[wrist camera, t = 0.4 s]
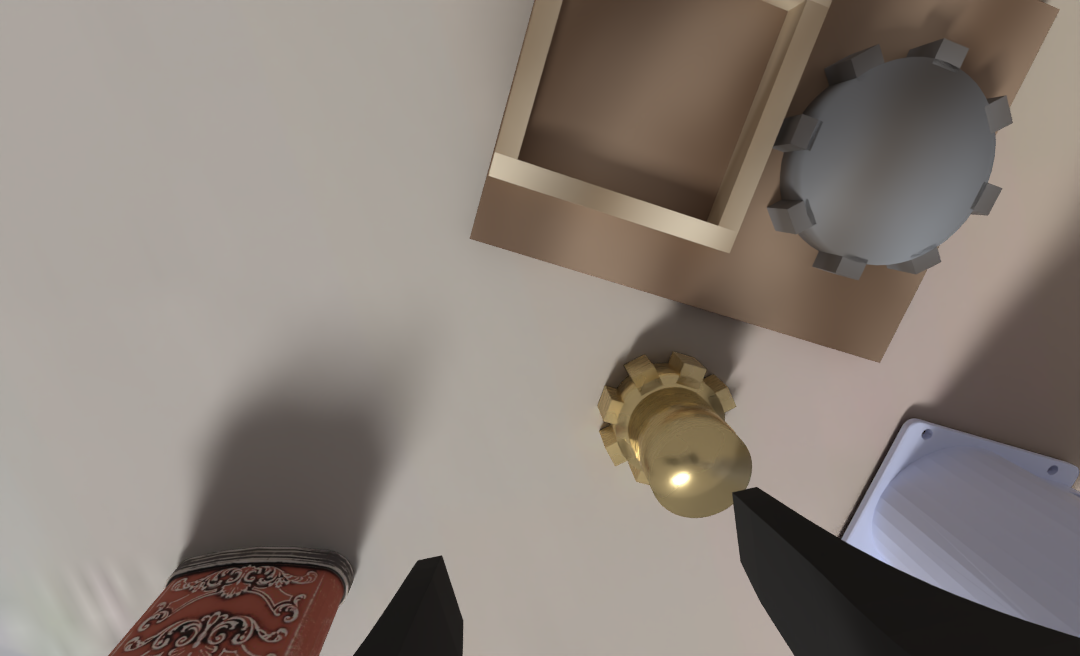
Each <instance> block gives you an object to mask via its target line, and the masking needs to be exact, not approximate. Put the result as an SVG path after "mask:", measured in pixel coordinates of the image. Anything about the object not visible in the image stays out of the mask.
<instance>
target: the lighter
mask: <svg viewBox="0 0 1080 656" xmlns="http://www.w3.org/2000/svg"><path fill="white" fill-rule="evenodd" d="M352 582H353V570H352V567H351V564H350V563H349V562H348V561H347V559H346V558H345V557H343V556H342V555H340V554H339V553H336V552H332V551H327V550H317V549H308V548H299V547H254V548H245V549H236V550H227V551H221V552H216V553H212V554H207V555H202V556H197V557H193V558H190V559H187V560H185V561H183V562H182V563H181V565H180V566H179V567H178V568H177V569H176V570H175V571H174V572H173V574H172V575H171V576H170V577H169V578H168V579H167V580H166V583H165V586H164V588H163V589H164V591H163V592H162V593H161V594H160V595H159V597H158V598H157V599H156V600H155V601H154V602H153V604H152V605H151V606H150V607H149V608H148V609H147V611H146V612H145V613H144V614H143V615H142V617H141V618H140V619H139V620H138V621H137V622H136V624H135V625H134V626H133V627H132V628H131V629H130V631H129V632H128V633H127V634H126V635H125V637H124V638H123V639H122V640H121V641H120V642H119V644H118V645H117V646H116V647H115V648H114V650H113V651H112V652H111V653H110V654H109V655H108V656H319V654H320V652H321V649H322V647H323V644H324V642H325V639H326V637H327V634H328V632H329V629H330V627H331V624H332V622H333V619H334V617H335V614H336V612H337V609H338V608H339V607H340V606H341V605H342V604H343V603H344V601H345V599H346V597H347V595H348V592H349V590H350V587H351V585H352Z"/></svg>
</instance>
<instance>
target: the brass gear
mask: <svg viewBox="0 0 1080 656" xmlns="http://www.w3.org/2000/svg"><path fill="white" fill-rule="evenodd" d="M624 367H625V369H626V370H627V372H628V374H629V376H628V377H627V378H626V379H625V380H624V381H623V382H622V383H621V384H620V385H619V387H618V388H617V389H615V388H612V387H608V386H605V387H604V390H603V392H602V395H601V398H600V400H599V403H598V409H599V411H600V414H601V416H602V419H603V421H604V422H608V423H610V426H608V427H606V428H604V429H602V430H600V431H599V432H600V435H601V438H602V440H603V443H604V446H605V448H606V450H607V452H608V454H609V456H610V457H611V459H612V461H613V463H614V465H615V466H617V465H619V464H621V463H623V462H625V461H628V462H629V463H628V464H629V466H630V468H631V471H632V473H633V475H634V478H635V480H636V482H639V483H643V484H647V485H650V486H651V489H652V491H653V493H654V495H655V497H656V498H657V500H658V501H659V503H660V504H661V505H662V506H663V507H665V508H666V509H667V510H669V511H670V512H672V513H674V514H676V515H679V516H683V517H688V518H702V517H708V516H711V515H715V514H717V513H719V512H721V511H723V510H725V509H727V508H728V507H730V506H731V505H732V504H733V497H732V492H736V491H741V490H745V489H746V488H747V486H748V483H749V481H750V477H751V473H752V461H751V456H750V453H749V451H748V449H747V447H746V445H745V444H744V443H743V441H742V440H741V439H740V438H739V437H738V436H737V435H736V433H735V432H734V431H733V429H732V428H731V427H730V426H729V425H728V424H727V423H726V422H725V415H724V413H725V412H727V411H729V410H731V409H733V408H735V407H736V405H735V402H734V400H733V398H732V396H731V394H730V391H729V389H728V387H727V386H726V385H725V384H724V383H723V382H722V381H720V380H719V379H718V378H717V377H716V376H715V375H714V374H712V375H710V376H708V377H706V378H704V375H705V373H706V371H707V369H706V368H705V367H704V366H702V365H701V364H700V363H699V362H698V361H697V360H696V359H695V358H694V357H691V356H687V355H684V354H680V353H677V352H672V354H671V357H670V359H669V362H668V363H658V364H652V363H651V362H650V360H649V359H648V358H647V357H646V355H645V354H644V355H642V356H640V357H638V358H636V359H634V360H632V361H630V362H628V363H627V364H625V365H624ZM703 378H704V379H703Z"/></svg>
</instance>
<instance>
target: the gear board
mask: <svg viewBox="0 0 1080 656" xmlns="http://www.w3.org/2000/svg"><path fill="white" fill-rule="evenodd" d="M1059 10H1060V9H1057V8H1055V7H1053V6H1050V5H1048V4H1046V3H1044V2H1041V1H1039V0H535V1H534V4H533V8H532V12H531V15H530V19H529V23H528V27H527V30H526V34H525V38H524V41H523V45H522V49H521V52H520V56H519V60H518V63H517V67H516V71H515V74H514V78H513V82H512V85H511V89H510V93H509V96H508V100H507V104H506V107H505V111H504V115H503V118H502V122H501V126H500V129H499V133H498V137H497V140H496V144H495V148H494V151H493V155H492V159H491V162H490V166H489V170H488V173H487V177H486V181H485V184H484V188H483V192H482V195H481V199H480V203H479V206H478V210H477V214H476V217H475V221H474V225H473V229H472V232H471V236H470V239H473V240H476V241H479V242H483V243H486V244H489V245H493V246H496V247H499V248H502V249H506V250H509V251H512V252H516V253H519V254H522V255H526V256H529V257H532V258H535V259H539V260H542V261H545V262H549V263H552V264H555V265H558V266H562V267H565V268H568V269H572V270H575V271H578V272H582V273H585V274H588V275H591V276H595V277H598V278H601V279H605V280H608V281H611V282H615V283H618V284H621V285H624V286H628V287H631V288H634V289H638V290H641V291H644V292H648V293H651V294H654V295H657V296H661V297H664V298H667V299H671V300H674V301H677V302H681V303H684V304H687V305H690V306H694V307H697V308H700V309H704V310H707V311H710V312H714V313H717V314H720V315H723V316H727V317H730V318H733V319H737V320H740V321H743V322H746V323H750V324H753V325H756V326H760V327H763V328H766V329H770V330H773V331H776V332H779V333H783V334H786V335H789V336H793V337H796V338H799V339H803V340H806V341H809V342H812V343H816V344H819V345H822V346H826V347H829V348H832V349H836V350H839V351H842V352H845V353H849V354H852V355H855V356H859V357H862V358H865V359H869V360H872V361H875V362H878V363H880V361H881V360H882V358H883V356H884V354H885V352H886V350H887V348H888V346H889V344H890V342H891V340H892V338H893V336H894V334H895V332H896V330H897V328H898V326H899V324H900V322H901V320H902V318H903V316H904V314H905V312H906V310H907V308H908V306H909V305H910V303H911V301H912V299H913V297H914V295H915V293H916V291H917V289H918V287H919V285H920V283H921V281H922V279H923V277H924V275H925V273H926V271H927V269H928V268H930V267H932V266H934V265H936V264H938V263H940V262H941V260H940V256H939V252H938V248H939V246H940V244H942V243H943V242H944V241H946V240H947V239H948V238H949V237H950V236H951V235H953V234H954V233H955V232H956V231H957V230H958V229H959V228H960V227H961V225H962V224H963V223H964V222H965V221H966V220H967V218H968V217H969V216H970V214H975V215H989V213H990V211H991V209H992V207H993V205H994V203H995V201H996V199H997V198H998V196H999V194H1000V192H1001V190H1002V188H1000V187H997V186H995V185H992V184H989V183H988V180H989V177H990V174H991V171H992V167H993V162H994V157H995V146H996V137H995V136H996V134H997V132H998V130H1000V129H1002V128H1004V127H1006V126H1008V125H1010V124H1012V123H1013V122H1012V117H1011V113H1010V106H1011V104H1012V102H1013V100H1014V98H1015V96H1016V94H1017V92H1018V90H1019V88H1020V86H1021V85H1022V83H1023V81H1024V79H1025V77H1026V75H1027V73H1028V71H1029V69H1030V67H1031V65H1032V63H1033V61H1034V59H1035V57H1036V55H1037V53H1038V51H1039V49H1040V47H1041V45H1042V43H1043V41H1044V39H1045V37H1046V35H1047V33H1048V31H1049V29H1050V28H1051V26H1052V24H1053V22H1054V20H1055V18H1056V16H1057V14H1058V12H1059Z"/></svg>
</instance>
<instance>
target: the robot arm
mask: <svg viewBox="0 0 1080 656" xmlns="http://www.w3.org/2000/svg"><path fill="white" fill-rule="evenodd" d="M924 430H926V431H925V433H924V434H922V433H923V431H924ZM1078 475H1079V469H1078V467H1076V466H1075V465H1073V464H1071V463H1069V462H1066V461H1062V460H1059V459H1055V458H1052V457H1048V456H1045V455H1041V454H1038V453H1035V452H1031V451H1028V450H1024V449H1021V448H1017V447H1014V446H1010V445H1007V444H1003V443H1000V442H996V441H993V440H990V439H986V438H983V437H979V436H976V435H972V434H969V433H965V432H962V431H958V430H955V429H951V428H948V427H945V426H941V425H938V424H934V423H931V422H927V421H924V420H920V419H916V418H912V419H909V420H907V421H906V422H905V423H904V424H903V426H902V427H901V429H900V431H899V433H898V435H897V437H896V439H895V440H894V442H893V444H892V446H891V448H890V450H889V452H888V453H887V455H886V457H885V459H884V461H883V463H882V464H881V466H880V468H879V470H878V472H877V474H876V476H875V477H874V479H873V481H872V483H871V485H870V487H869V489H868V490H867V492H866V494H865V496H864V498H863V500H862V502H861V503H860V505H859V507H858V509H857V511H856V513H855V515H854V516H853V518H852V520H851V522H850V524H849V526H848V528H847V529H846V531H845V533H844V535H843V537H842V539H840V538H838V537H836V536H834V535H833V534H831V533H829V532H828V531H826V530H824V529H823V528H821V527H819V526H818V525H816V524H814V523H813V522H811V521H809V520H808V519H806V518H805V517H803V516H801V515H800V514H798V513H797V512H795V511H793V510H792V509H790V508H789V507H787V506H786V505H784V504H783V503H781V502H779V501H778V500H776V499H775V498H773V497H772V496H770V495H769V494H767V493H765V492H764V491H762V490H761V489H759V488H757V487H755V488H750V489H746V490H741V491H736V492H732V497H733V505H734V513H735V521H736V529H737V537H738V545H739V553H740V561H741V563H742V565H743V567H744V570H745V572H746V574H747V576H748V578H749V580H750V582H751V584H752V586H753V588H754V590H755V592H756V594H757V596H758V598H759V600H760V602H761V604H762V605H763V607H764V608H765V610H766V612H767V613H768V615H769V616H770V618H771V620H772V621H773V623H774V624H775V626H776V627H777V629H778V631H779V632H780V634H781V635H782V637H783V638H784V640H785V642H786V643H787V645H788V646H789V648H790V649H791V651H792V653H793V654H794V656H1080V492H1079V491H1077V490H1075V489H1073V488H1071V487H1072V485H1073V484H1074V482H1075V481H1076V479H1077V477H1078ZM462 654H463V619H462V616H461V613H460V610H459V606H458V603H457V600H456V597H455V594H454V591H453V588H452V585H451V582H450V579H449V576H448V572H447V569H446V566H445V563H444V560H443V557H442V555H441V556H437V557H432V558H427V559H423V560H418V561H417V562H416V564H415V565H414V567H413V568H412V570H411V571H410V573H409V574H408V576H407V577H406V579H405V580H404V582H403V583H402V585H401V587H400V588H399V590H398V591H397V593H396V594H395V596H394V597H393V599H392V600H391V602H390V603H389V605H388V606H387V608H386V610H385V611H384V612H383V614H382V615H381V617H380V618H379V620H378V621H377V623H376V624H375V626H374V627H373V629H372V630H371V632H370V633H369V634H368V636H367V637H366V639H365V640H364V642H363V643H362V644H361V646H360V647H359V648H358V650H357V651H356V652H355V654H354V655H353V656H462Z"/></svg>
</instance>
